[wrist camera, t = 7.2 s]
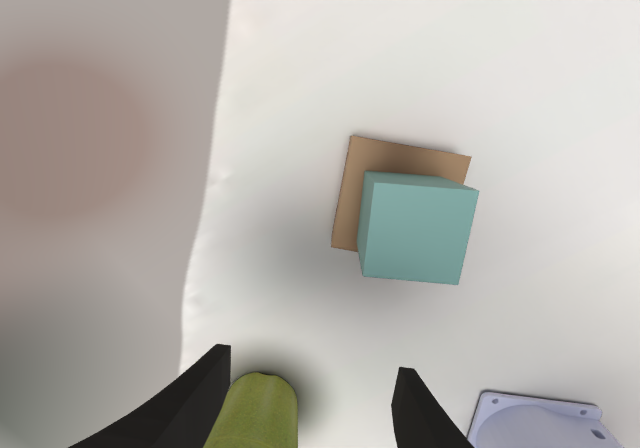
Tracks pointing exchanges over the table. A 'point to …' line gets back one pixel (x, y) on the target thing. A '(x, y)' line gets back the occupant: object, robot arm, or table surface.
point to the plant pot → (257, 415)
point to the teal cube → (414, 227)
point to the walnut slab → (385, 159)
